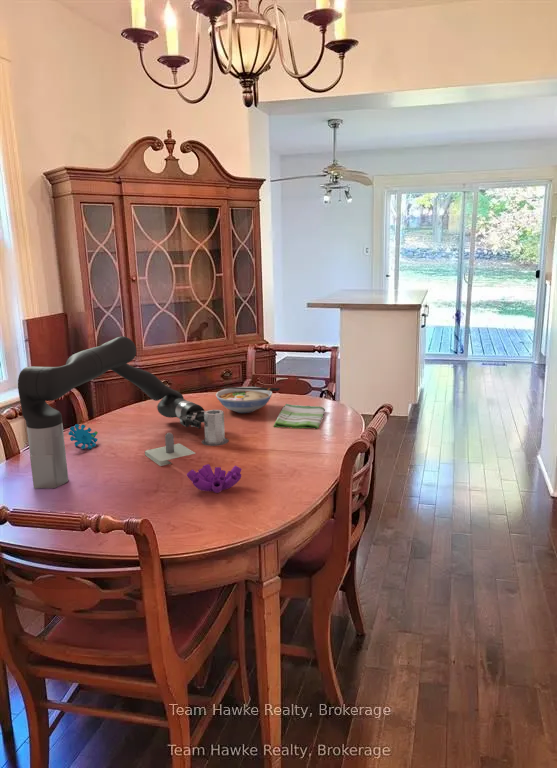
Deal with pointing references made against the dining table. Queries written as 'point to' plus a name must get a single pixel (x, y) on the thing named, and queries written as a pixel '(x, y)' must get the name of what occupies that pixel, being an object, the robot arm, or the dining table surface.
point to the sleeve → (214, 426)
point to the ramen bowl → (244, 398)
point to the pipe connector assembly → (214, 478)
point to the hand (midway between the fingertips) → (211, 423)
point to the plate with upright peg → (168, 451)
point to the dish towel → (300, 416)
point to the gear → (83, 436)
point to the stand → (215, 444)
